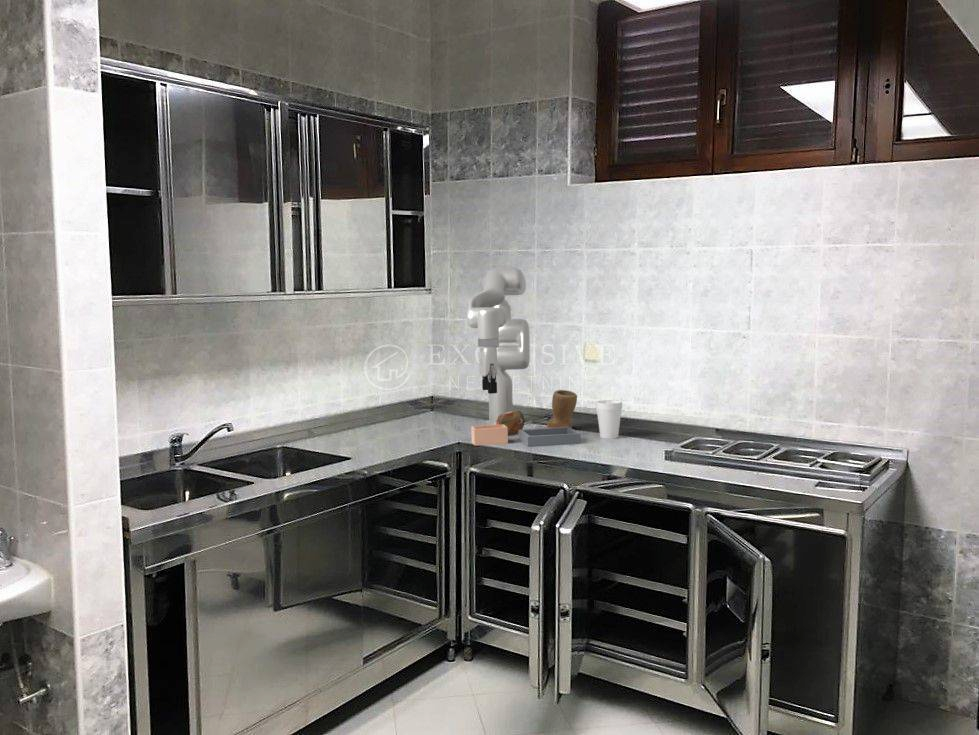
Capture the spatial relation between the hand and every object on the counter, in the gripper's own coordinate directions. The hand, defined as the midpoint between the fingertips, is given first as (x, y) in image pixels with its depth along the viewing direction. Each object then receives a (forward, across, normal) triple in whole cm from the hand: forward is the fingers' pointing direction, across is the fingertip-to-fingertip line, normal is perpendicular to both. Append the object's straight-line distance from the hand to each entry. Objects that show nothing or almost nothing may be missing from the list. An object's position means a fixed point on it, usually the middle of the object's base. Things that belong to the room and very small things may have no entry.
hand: (489, 391), depth 308 cm
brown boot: (+19, -19, +32) cm, 42 cm away
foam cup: (+19, +3, +44) cm, 48 cm away
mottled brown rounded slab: (+19, -15, +11) cm, 27 cm away
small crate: (+19, 0, 0) cm, 19 cm away
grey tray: (+18, +4, +21) cm, 28 cm away
